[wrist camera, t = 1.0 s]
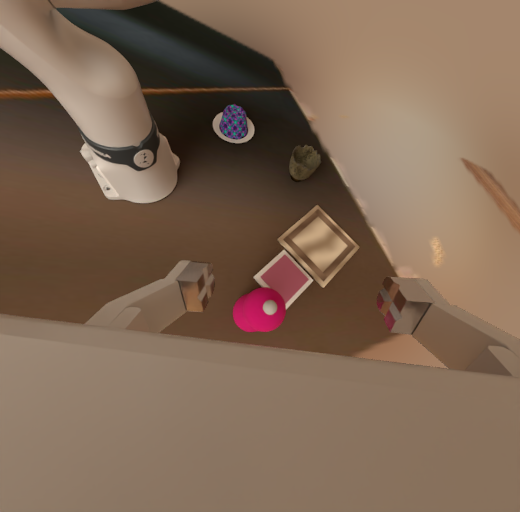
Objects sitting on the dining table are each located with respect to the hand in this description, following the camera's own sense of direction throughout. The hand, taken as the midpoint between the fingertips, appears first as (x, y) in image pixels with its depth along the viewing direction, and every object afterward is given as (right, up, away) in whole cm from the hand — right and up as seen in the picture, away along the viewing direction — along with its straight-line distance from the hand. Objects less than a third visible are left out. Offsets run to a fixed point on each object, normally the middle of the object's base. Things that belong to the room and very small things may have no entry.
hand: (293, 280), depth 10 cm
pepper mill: (-4, -11, +33) cm, 35 cm away
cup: (+9, +23, +47) cm, 53 cm away
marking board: (+14, +4, +42) cm, 44 cm away
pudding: (-9, +38, +49) cm, 62 cm away
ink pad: (+4, -4, +37) cm, 37 cm away
